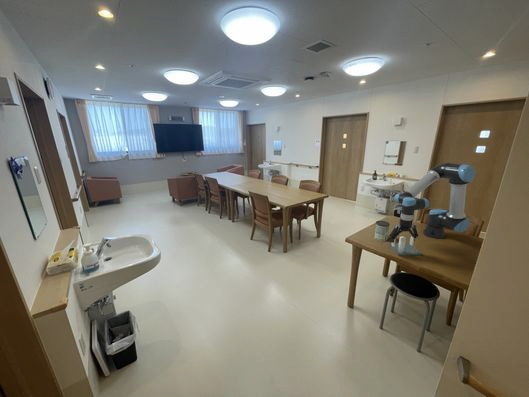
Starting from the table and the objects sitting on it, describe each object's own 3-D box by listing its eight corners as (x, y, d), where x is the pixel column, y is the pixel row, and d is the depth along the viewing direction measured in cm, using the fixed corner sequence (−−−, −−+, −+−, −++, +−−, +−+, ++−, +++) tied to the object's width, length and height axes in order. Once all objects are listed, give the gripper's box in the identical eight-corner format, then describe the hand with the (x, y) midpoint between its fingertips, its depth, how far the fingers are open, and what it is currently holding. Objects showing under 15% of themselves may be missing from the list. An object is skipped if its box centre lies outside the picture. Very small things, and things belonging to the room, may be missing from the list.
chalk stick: (401, 250, 160) (403, 236, 157) (404, 253, 157) (407, 238, 153) (396, 250, 160) (398, 236, 157) (399, 253, 157) (402, 238, 153)
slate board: (409, 245, 170) (409, 243, 169) (422, 254, 156) (422, 253, 156) (388, 246, 169) (388, 244, 169) (399, 255, 156) (399, 254, 156)
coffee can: (372, 234, 189) (374, 220, 185) (385, 235, 186) (387, 221, 182) (375, 240, 179) (377, 224, 175) (388, 241, 177) (391, 225, 173)
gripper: (419, 216, 155) (415, 242, 161) (386, 217, 154) (382, 243, 160) (427, 220, 147) (422, 247, 154) (392, 222, 147) (388, 249, 153)
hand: (402, 245), depth 157 cm, fingers open, 13 cm apart
